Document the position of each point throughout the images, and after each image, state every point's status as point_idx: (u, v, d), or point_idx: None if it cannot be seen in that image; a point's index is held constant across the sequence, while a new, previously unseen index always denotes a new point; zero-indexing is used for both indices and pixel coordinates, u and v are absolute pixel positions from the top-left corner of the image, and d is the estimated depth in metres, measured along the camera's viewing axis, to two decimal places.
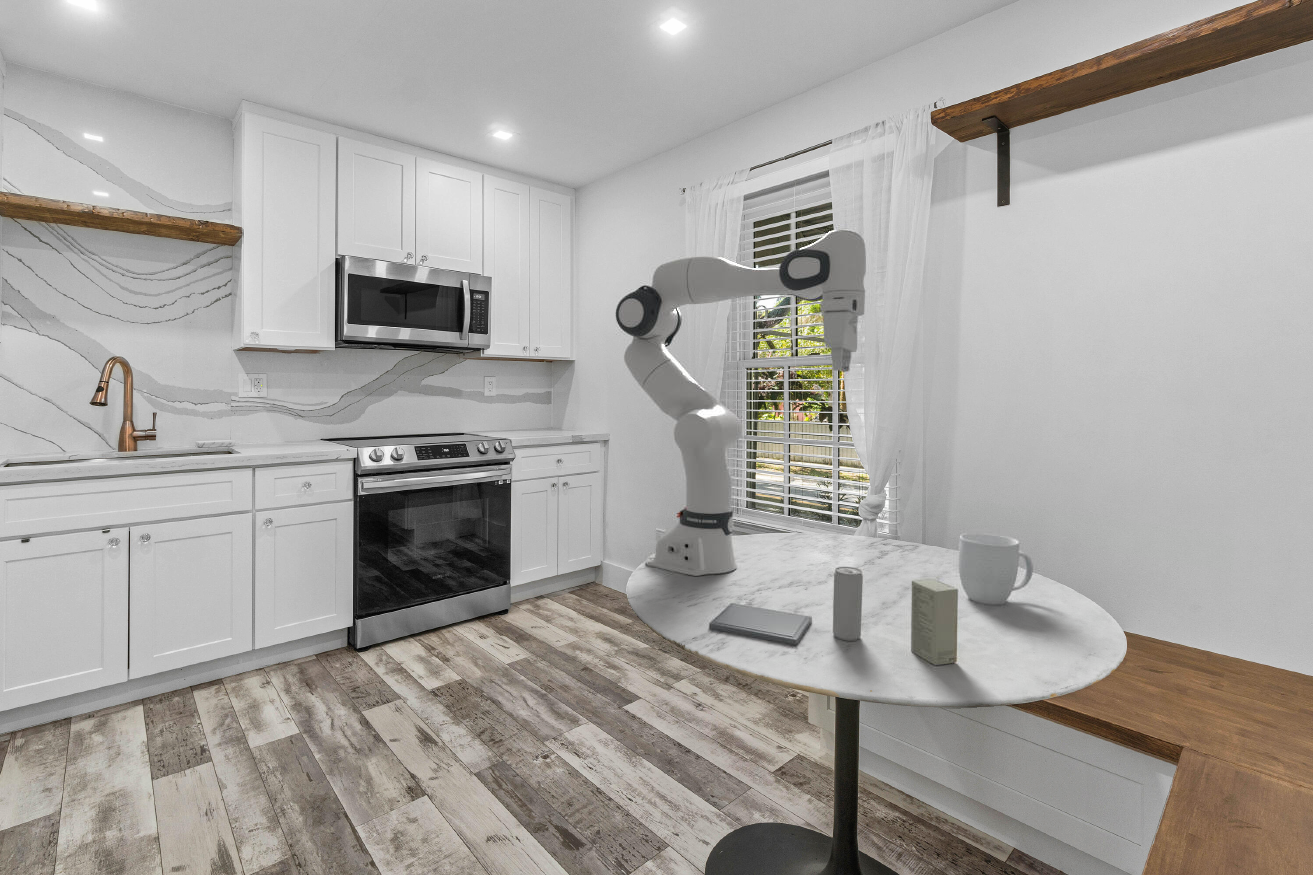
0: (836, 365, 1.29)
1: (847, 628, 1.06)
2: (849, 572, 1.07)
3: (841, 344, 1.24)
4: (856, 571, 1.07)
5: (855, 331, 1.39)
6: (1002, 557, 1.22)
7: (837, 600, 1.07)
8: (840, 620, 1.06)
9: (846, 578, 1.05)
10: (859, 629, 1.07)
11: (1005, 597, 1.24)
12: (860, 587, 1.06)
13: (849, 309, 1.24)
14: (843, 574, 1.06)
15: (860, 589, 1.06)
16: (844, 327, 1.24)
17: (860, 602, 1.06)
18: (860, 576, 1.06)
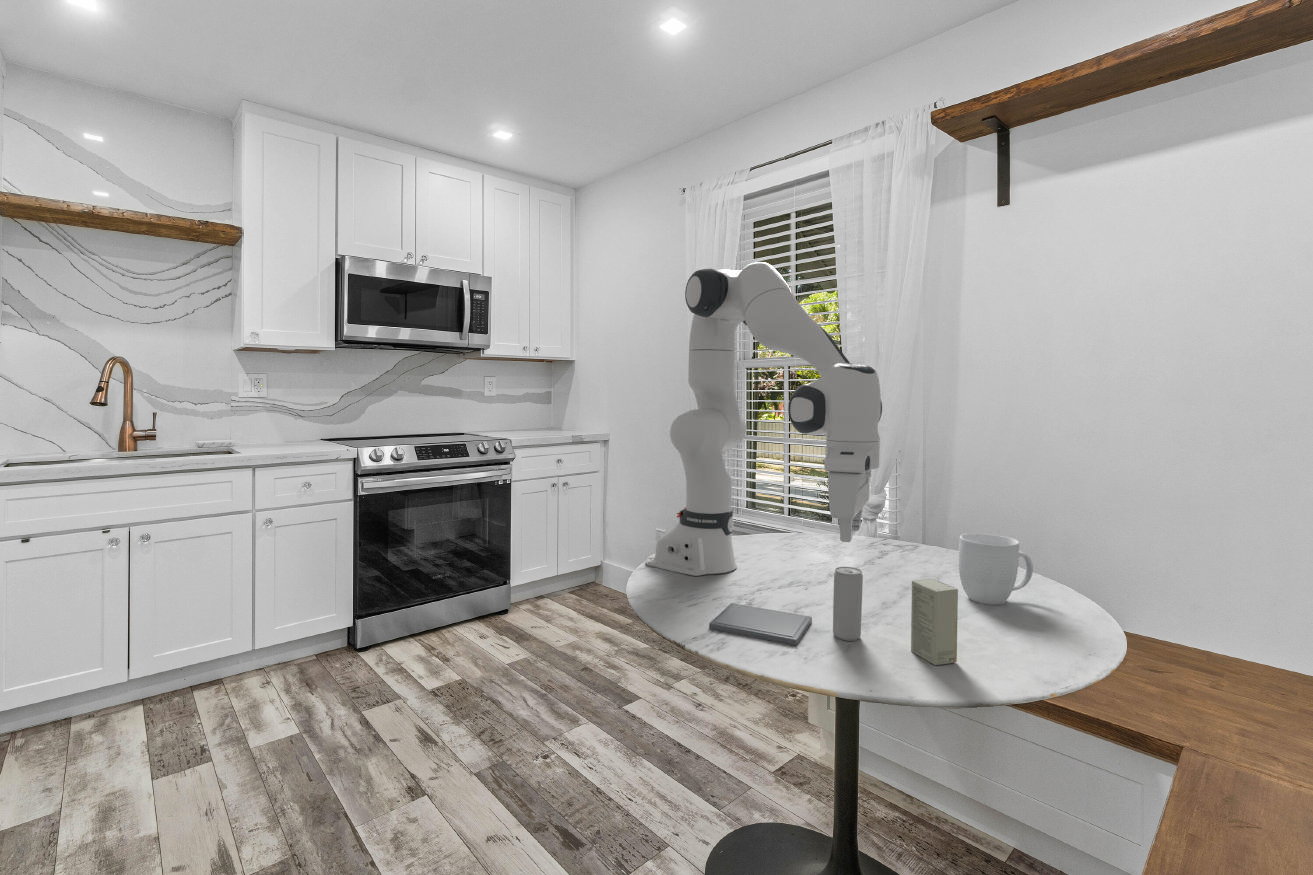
0: (845, 536, 1.02)
1: (847, 628, 1.06)
2: (849, 572, 1.07)
3: (851, 517, 0.97)
4: (856, 571, 1.07)
5: (867, 478, 1.12)
6: (1002, 557, 1.22)
7: (837, 600, 1.07)
8: (840, 620, 1.06)
9: (846, 578, 1.05)
10: (859, 629, 1.07)
11: (1005, 597, 1.24)
12: (860, 587, 1.06)
13: (861, 472, 0.97)
14: (843, 574, 1.06)
15: (860, 589, 1.06)
16: (855, 496, 0.97)
17: (860, 602, 1.06)
18: (860, 576, 1.06)
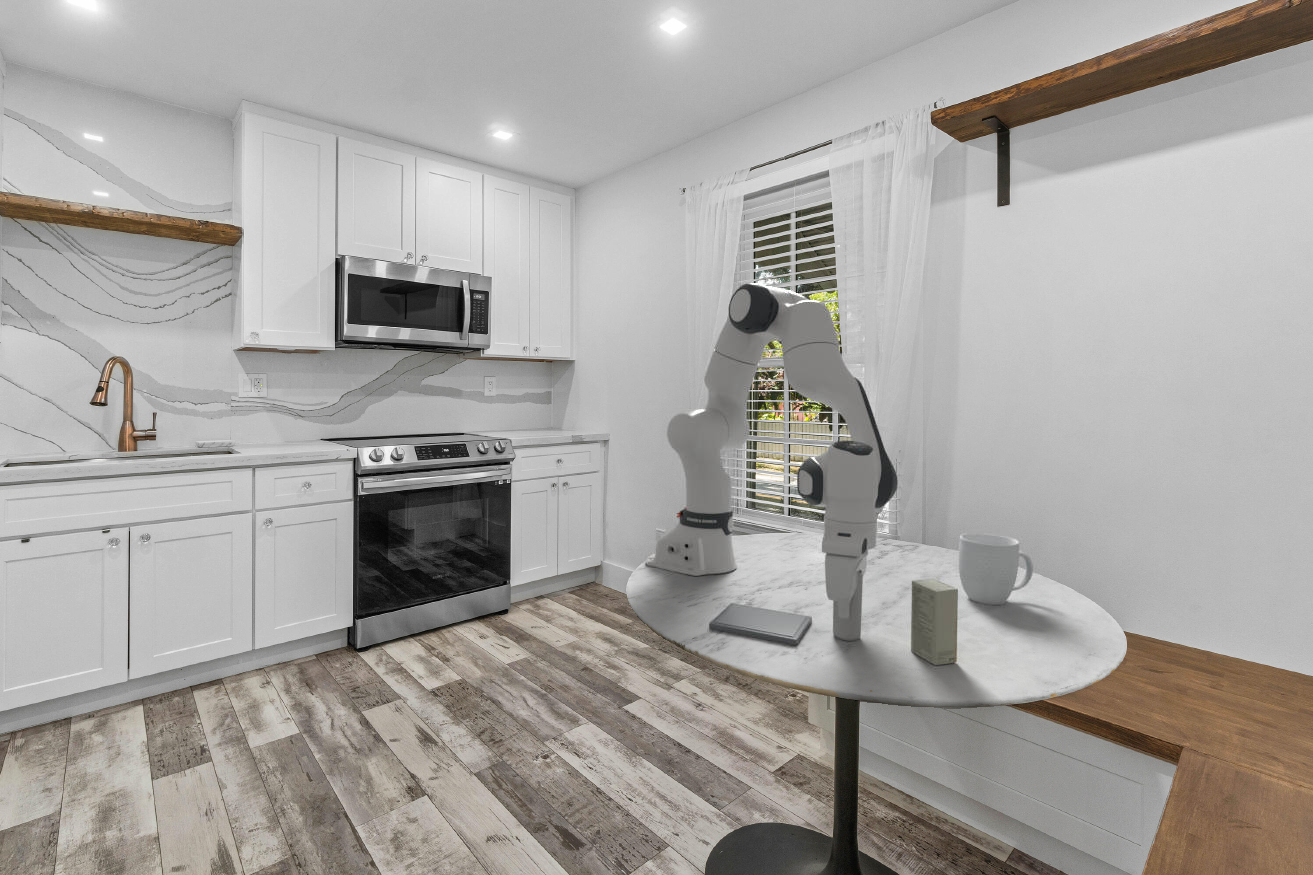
0: (843, 612, 1.05)
1: (847, 628, 1.06)
2: None
3: (848, 600, 0.99)
4: None
5: None
6: (1002, 557, 1.22)
7: None
8: (840, 620, 1.06)
9: None
10: (859, 629, 1.07)
11: (1005, 597, 1.24)
12: (860, 587, 1.06)
13: (858, 556, 0.99)
14: None
15: (860, 589, 1.06)
16: (851, 580, 0.98)
17: (860, 602, 1.06)
18: (860, 576, 1.06)
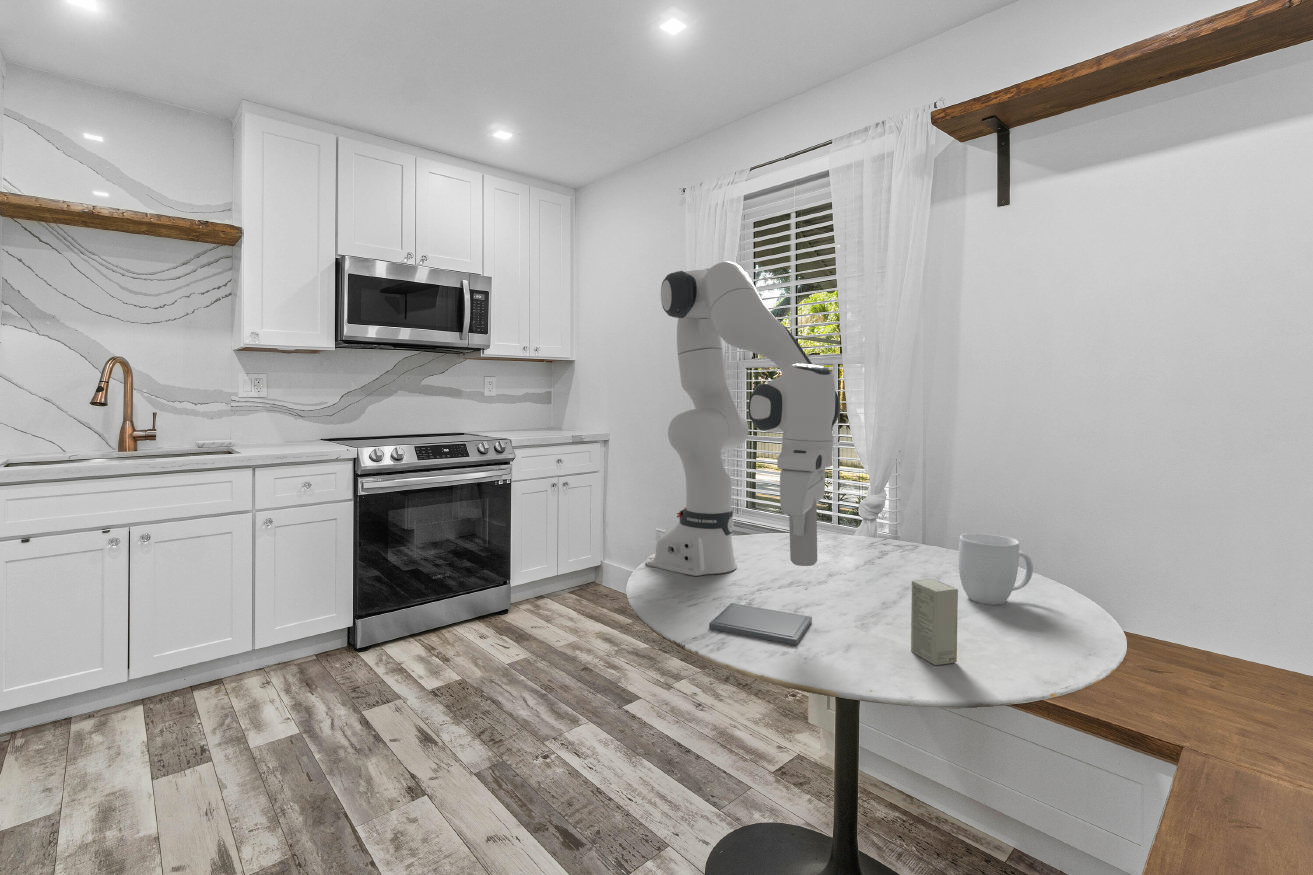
0: (798, 529, 1.07)
1: (803, 553, 1.08)
2: None
3: (801, 514, 1.00)
4: None
5: (822, 476, 1.15)
6: (1002, 557, 1.22)
7: None
8: (797, 546, 1.08)
9: None
10: (815, 554, 1.09)
11: (1005, 597, 1.24)
12: (814, 512, 1.08)
13: (811, 470, 1.00)
14: None
15: (814, 514, 1.08)
16: (805, 494, 1.00)
17: (815, 527, 1.08)
18: None
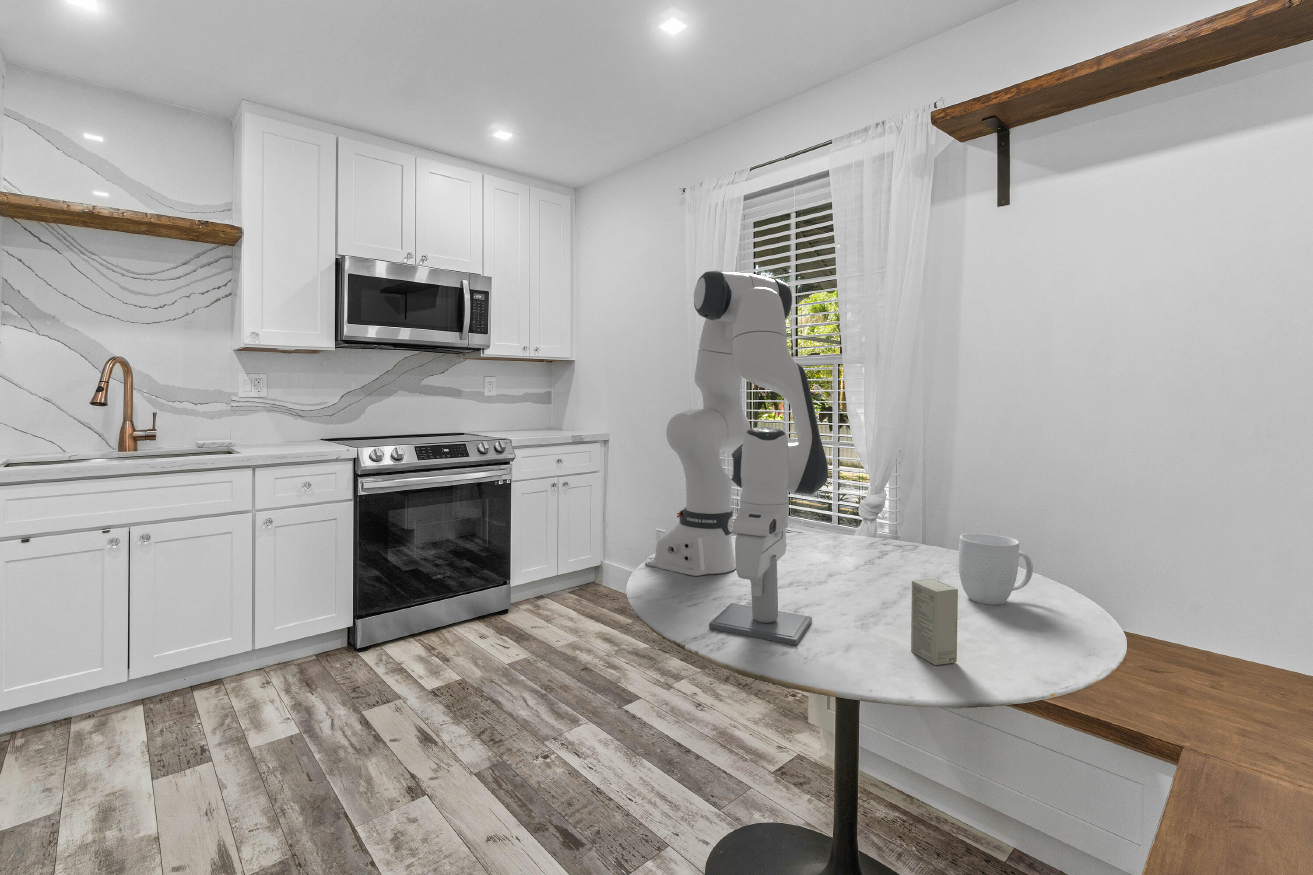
0: (756, 590, 1.09)
1: (764, 611, 1.11)
2: None
3: (755, 578, 1.03)
4: None
5: (782, 534, 1.18)
6: (1002, 557, 1.22)
7: None
8: (757, 604, 1.11)
9: None
10: (776, 611, 1.11)
11: (1005, 597, 1.24)
12: (774, 571, 1.11)
13: (765, 535, 1.03)
14: None
15: (774, 573, 1.11)
16: (758, 559, 1.03)
17: (775, 585, 1.11)
18: (774, 560, 1.11)
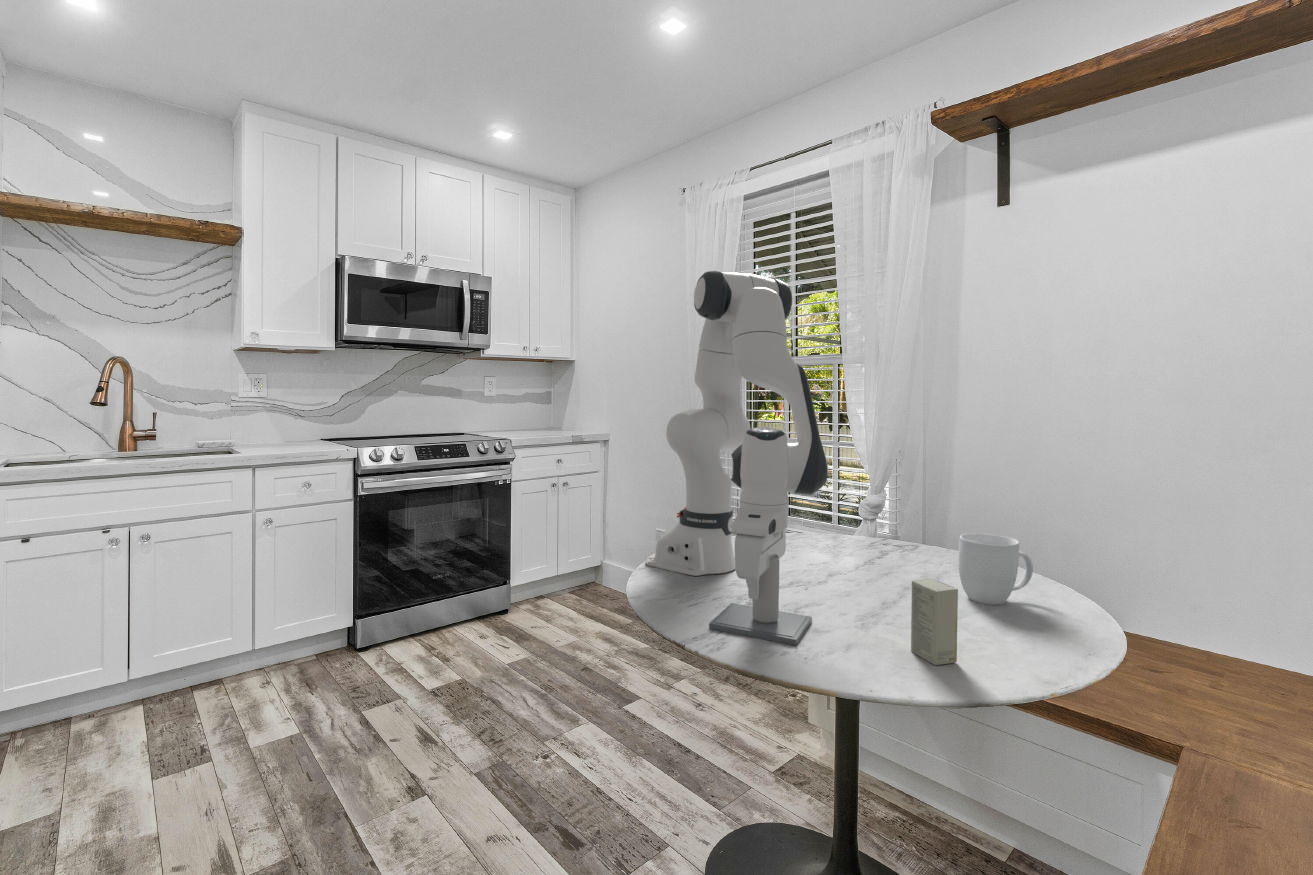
0: (752, 593, 1.08)
1: (764, 612, 1.11)
2: None
3: (755, 578, 1.03)
4: (773, 557, 1.12)
5: (782, 534, 1.18)
6: (1002, 557, 1.22)
7: None
8: (758, 604, 1.11)
9: None
10: (776, 612, 1.11)
11: (1005, 597, 1.24)
12: (776, 572, 1.11)
13: (764, 536, 1.03)
14: None
15: (776, 574, 1.11)
16: (758, 559, 1.03)
17: (777, 586, 1.11)
18: (776, 561, 1.11)
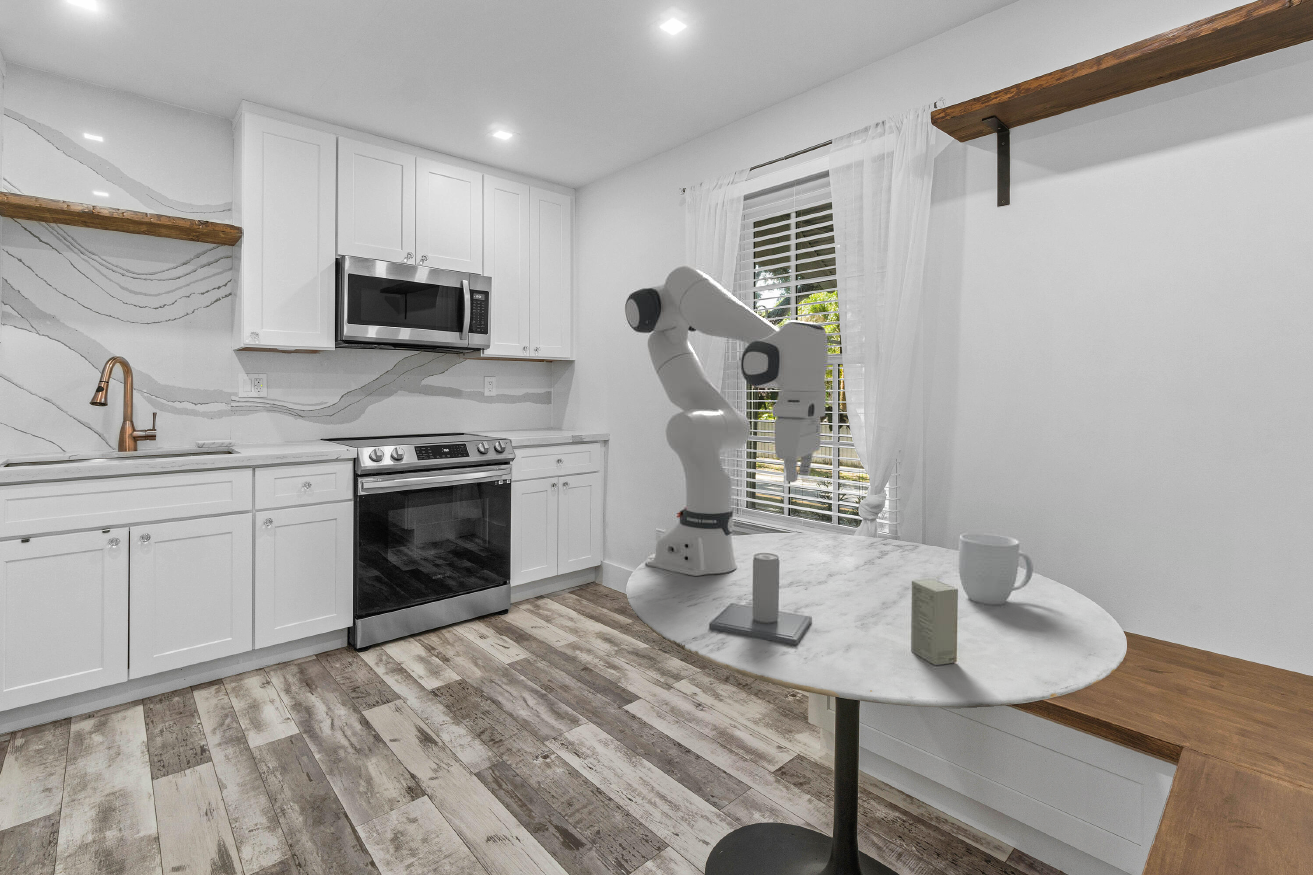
0: (790, 476, 1.13)
1: (764, 612, 1.11)
2: (766, 558, 1.11)
3: (794, 457, 1.08)
4: (773, 557, 1.12)
5: (817, 428, 1.22)
6: (1002, 557, 1.22)
7: (755, 585, 1.11)
8: (758, 604, 1.11)
9: (763, 563, 1.10)
10: (776, 612, 1.11)
11: (1005, 597, 1.24)
12: (776, 572, 1.11)
13: (804, 417, 1.08)
14: (760, 560, 1.10)
15: (776, 574, 1.11)
16: (797, 438, 1.07)
17: (777, 586, 1.11)
18: (776, 561, 1.11)
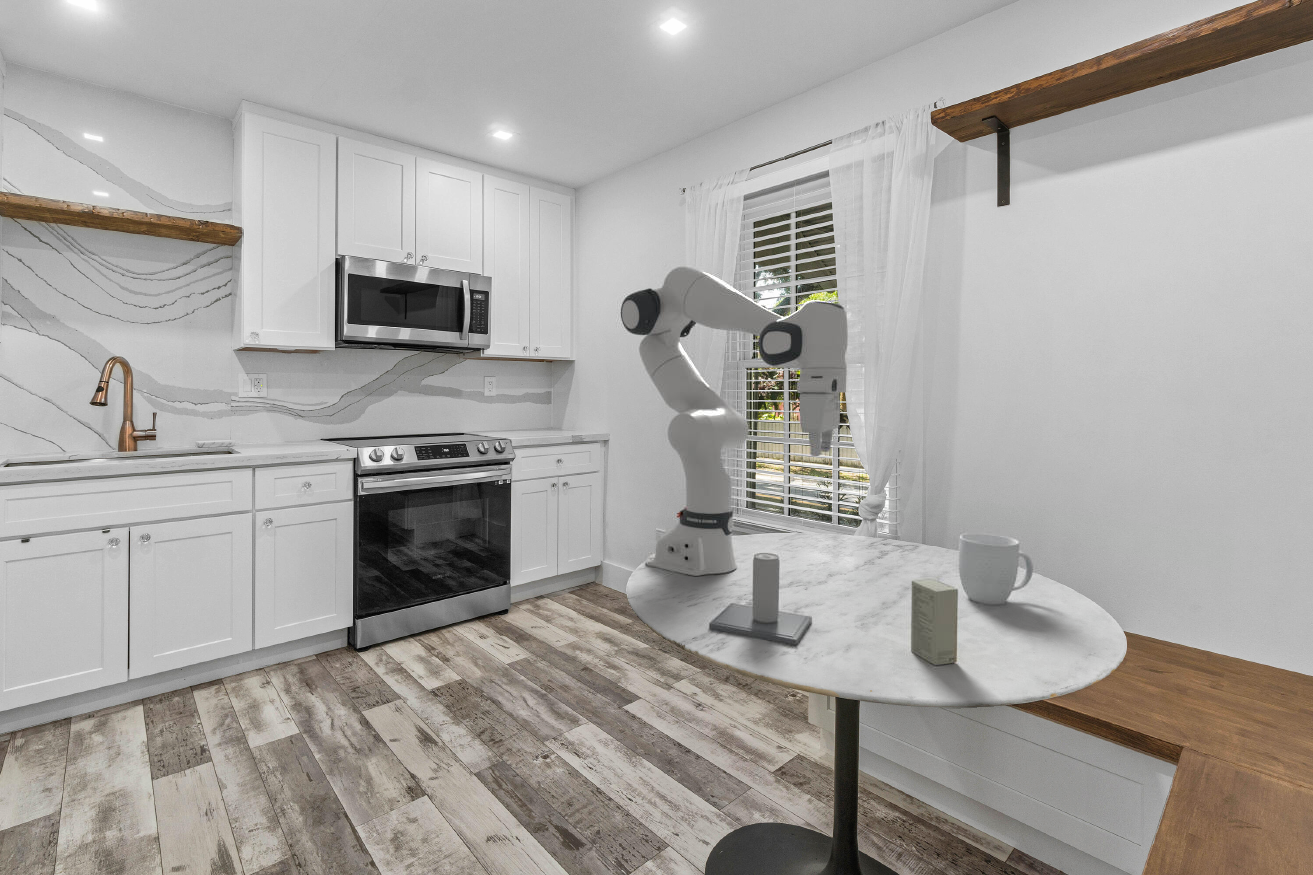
0: (814, 450, 1.16)
1: (764, 611, 1.11)
2: (766, 558, 1.11)
3: (819, 430, 1.12)
4: (773, 557, 1.12)
5: (837, 406, 1.26)
6: (1002, 557, 1.22)
7: (755, 584, 1.11)
8: (758, 604, 1.11)
9: (763, 563, 1.10)
10: (776, 612, 1.11)
11: (1005, 597, 1.24)
12: (776, 572, 1.11)
13: (828, 391, 1.12)
14: (760, 559, 1.10)
15: (776, 574, 1.11)
16: (822, 412, 1.11)
17: (777, 586, 1.11)
18: (776, 561, 1.11)
